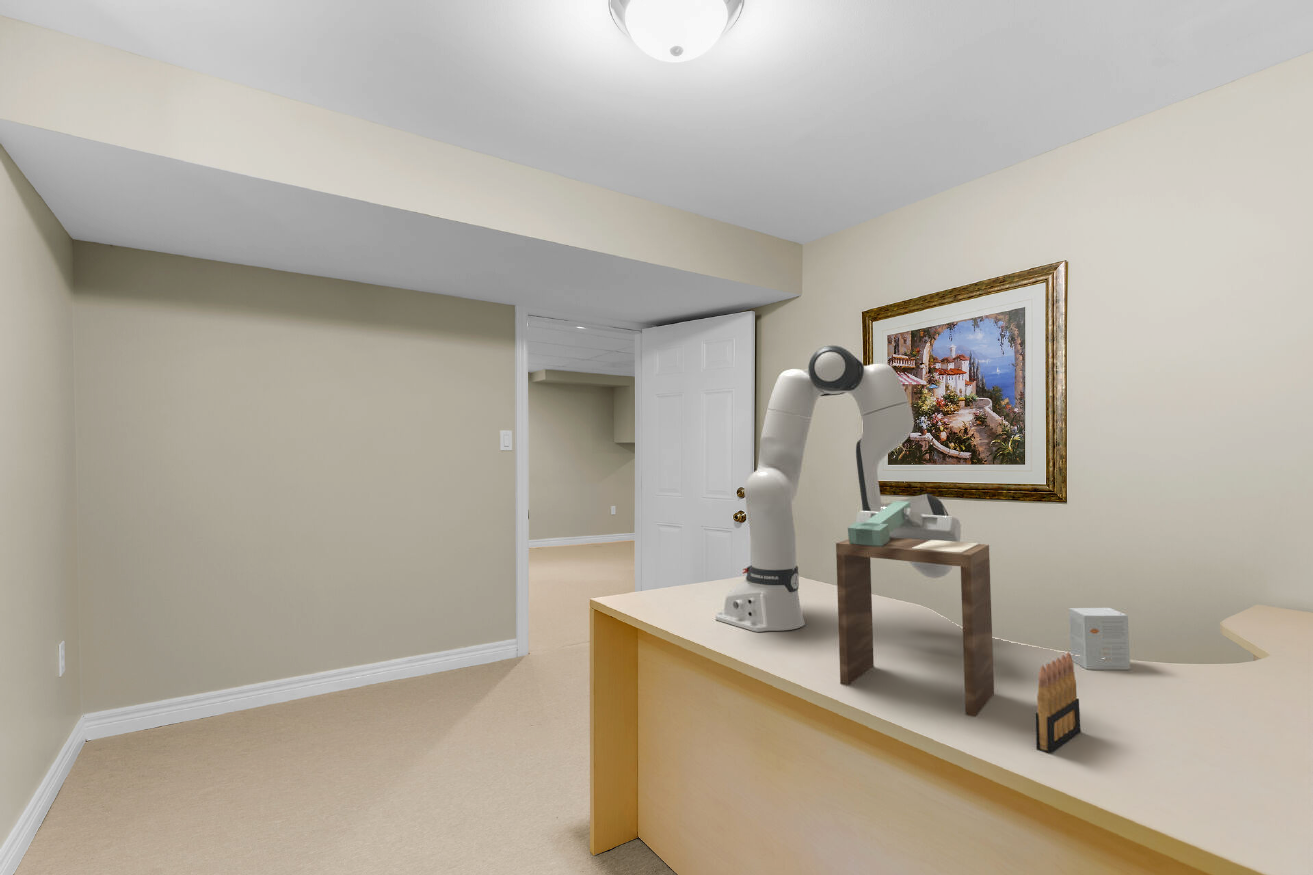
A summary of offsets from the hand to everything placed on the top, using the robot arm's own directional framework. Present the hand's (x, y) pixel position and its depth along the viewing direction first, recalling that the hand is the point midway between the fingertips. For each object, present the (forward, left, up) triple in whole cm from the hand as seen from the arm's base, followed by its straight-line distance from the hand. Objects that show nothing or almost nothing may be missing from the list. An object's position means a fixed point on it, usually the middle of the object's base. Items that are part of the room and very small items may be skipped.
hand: (894, 510), depth 123 cm
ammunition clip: (+29, -16, -31) cm, 46 cm away
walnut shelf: (+6, -9, -31) cm, 33 cm away
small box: (+30, +24, -31) cm, 49 cm away
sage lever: (0, -5, -3) cm, 6 cm away
